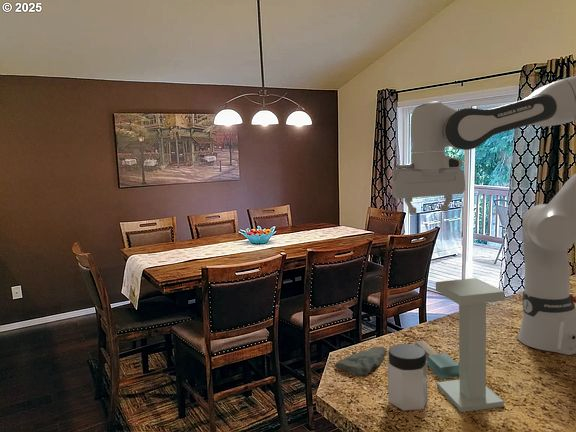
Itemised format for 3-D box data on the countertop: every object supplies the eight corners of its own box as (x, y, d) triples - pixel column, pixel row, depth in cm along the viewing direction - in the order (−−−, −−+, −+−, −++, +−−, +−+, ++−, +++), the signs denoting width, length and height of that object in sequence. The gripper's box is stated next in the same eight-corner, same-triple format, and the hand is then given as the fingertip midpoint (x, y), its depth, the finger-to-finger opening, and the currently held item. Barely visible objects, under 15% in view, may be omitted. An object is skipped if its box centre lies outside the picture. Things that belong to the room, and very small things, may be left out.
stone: (373, 340, 132) (402, 349, 124) (373, 351, 132) (402, 360, 124) (332, 357, 121) (361, 368, 113) (333, 369, 121) (361, 380, 113)
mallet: (427, 347, 129) (427, 337, 129) (459, 376, 112) (459, 365, 112) (411, 349, 129) (411, 339, 128) (440, 379, 111) (440, 367, 111)
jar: (422, 415, 97) (421, 362, 95) (385, 407, 101) (383, 356, 99) (430, 394, 104) (429, 345, 103) (395, 388, 108) (394, 340, 107)
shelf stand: (475, 381, 109) (475, 277, 106) (503, 406, 98) (504, 291, 95) (437, 387, 108) (435, 282, 104) (461, 412, 97) (460, 296, 93)
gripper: (396, 165, 119) (397, 216, 121) (468, 160, 122) (468, 211, 124) (387, 164, 125) (389, 214, 127) (456, 160, 128) (456, 208, 130)
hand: (428, 212), depth 125 cm, fingers open, 8 cm apart
